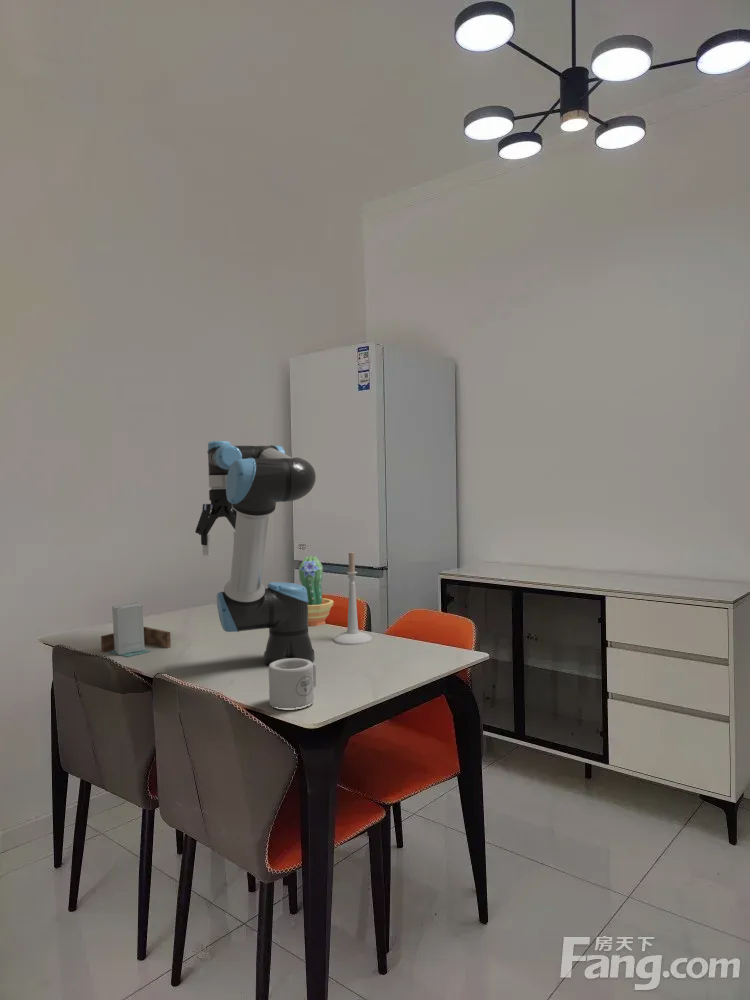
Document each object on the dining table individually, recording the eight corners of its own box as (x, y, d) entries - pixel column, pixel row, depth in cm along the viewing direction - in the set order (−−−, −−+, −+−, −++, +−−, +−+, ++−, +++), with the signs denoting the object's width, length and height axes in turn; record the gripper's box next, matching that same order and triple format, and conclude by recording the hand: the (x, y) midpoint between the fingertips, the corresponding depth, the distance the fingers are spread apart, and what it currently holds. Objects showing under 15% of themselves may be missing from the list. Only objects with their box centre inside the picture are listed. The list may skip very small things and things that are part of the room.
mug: (289, 714, 161) (288, 672, 161) (260, 705, 168) (259, 664, 168) (331, 700, 171) (330, 660, 171) (301, 691, 179) (300, 652, 178)
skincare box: (139, 647, 225) (138, 601, 224) (145, 651, 220) (143, 604, 219) (113, 651, 220) (111, 604, 219) (117, 655, 215) (116, 607, 214)
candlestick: (329, 637, 235) (328, 549, 234) (365, 634, 239) (364, 548, 238) (339, 646, 223) (337, 554, 222) (377, 643, 227) (375, 551, 226)
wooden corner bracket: (170, 647, 225) (170, 632, 225) (126, 658, 213) (126, 642, 212) (145, 641, 234) (144, 626, 234) (101, 651, 221) (101, 636, 221)
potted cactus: (284, 624, 257) (282, 557, 256) (310, 616, 269) (309, 552, 268) (316, 629, 248) (315, 559, 247) (342, 621, 260) (341, 555, 259)
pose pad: (150, 651, 220) (150, 650, 220) (127, 657, 214) (127, 656, 214) (132, 647, 226) (132, 646, 226) (109, 652, 220) (109, 651, 220)
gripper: (240, 487, 239) (241, 549, 240) (182, 489, 218) (184, 556, 219) (256, 487, 235) (257, 550, 235) (198, 489, 214) (200, 557, 215)
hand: (222, 553), depth 227 cm, fingers open, 13 cm apart
